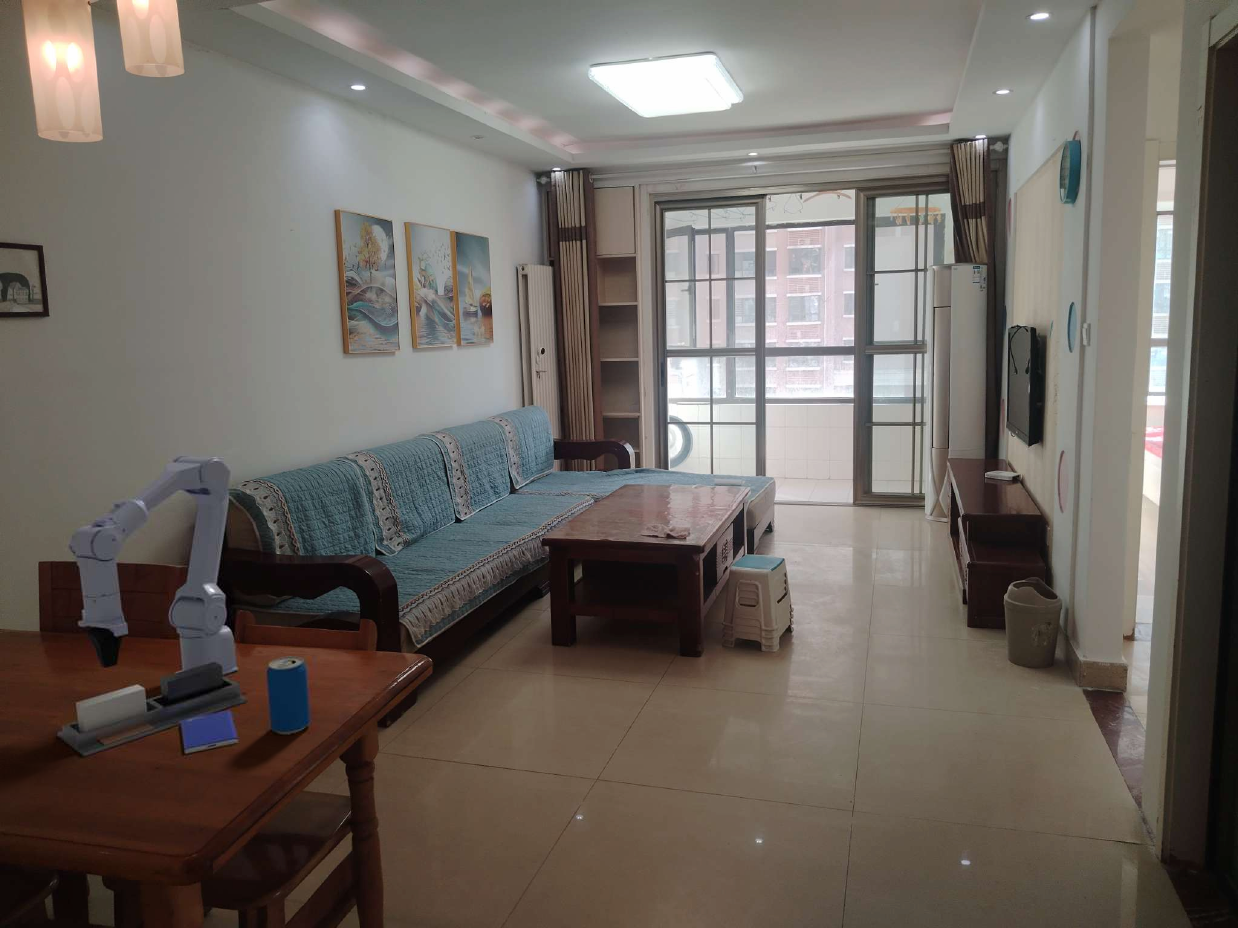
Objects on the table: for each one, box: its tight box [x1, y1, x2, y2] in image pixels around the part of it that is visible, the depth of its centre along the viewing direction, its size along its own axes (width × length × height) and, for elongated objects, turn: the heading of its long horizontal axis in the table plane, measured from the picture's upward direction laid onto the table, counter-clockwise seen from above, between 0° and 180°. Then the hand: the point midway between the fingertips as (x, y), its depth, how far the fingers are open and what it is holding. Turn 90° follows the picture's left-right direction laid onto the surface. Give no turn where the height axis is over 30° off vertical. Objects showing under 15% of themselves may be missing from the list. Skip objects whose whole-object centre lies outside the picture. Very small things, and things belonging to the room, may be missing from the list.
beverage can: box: [266, 656, 311, 735], centre depth 157 cm, size 6×6×12 cm
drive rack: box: [57, 662, 249, 757], centre depth 162 cm, size 28×12×7 cm, turn 140°
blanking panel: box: [75, 684, 147, 734], centre depth 157 cm, size 10×3×6 cm, turn 140°
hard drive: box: [180, 710, 239, 754], centre depth 156 cm, size 2×8×12 cm
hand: (109, 665), depth 163 cm, fingers closed
